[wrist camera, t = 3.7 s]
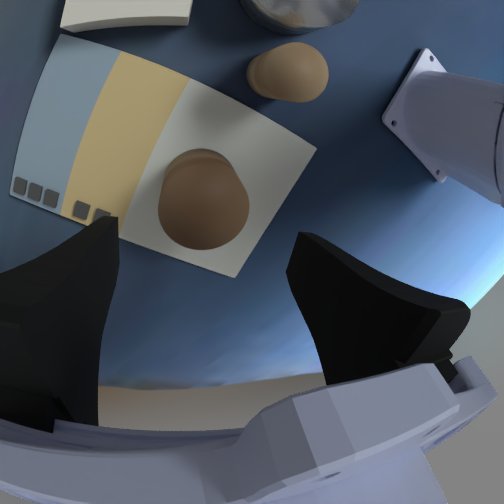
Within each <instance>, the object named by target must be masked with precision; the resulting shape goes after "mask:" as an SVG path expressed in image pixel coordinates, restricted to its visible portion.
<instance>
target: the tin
mask: <svg viewBox="0 0 504 504" xmlns="http://www.w3.org/2000/svg"><path fill="white" fill-rule="evenodd" d="M358 1H359V0H239V2H240V4H241V6H242V8H243V10H244V11H245V13H246V14H247V15H248V16H249V17H250V18H251V19H252V20H253V21H254V22H256V23H257V24H258V25H260V26H262V27H263V28H265V29H268V30H270V31H272V32H275V33H279V34H284V35H302V34H306V33H309V32H312V31H315V30H318V29H321V28H325V27H328V26H331V25H334V24H337V23H340V22H342V21H344V20H345V19H347V18H348V17H349V16H350V15H351V14H352V13H353V12H354V11H355V9H356V7H357V5H358Z"/></svg>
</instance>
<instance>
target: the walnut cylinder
mask: <svg viewBox="0 0 504 504" xmlns="http://www.w3.org/2000/svg"><path fill="white" fill-rule="evenodd" d="M249 207H250V206H249V198H248V194H247V191H246V189H245V188H244V186H243V184H242V182H241V180H240V179H239V177H238V175H237V174H236V172H235V170H234V168H233V167H232V165H231V163H230V162H229V161H228V160H227V159H226V158H225V157H224V156H223V155H222V154H220V153H218V152H216V151H213V150H210V149H204V148H198V149H192V150H188V151H186V152H184V153H182V154H180V155H179V156H177V157H176V158H175V159H174V160H173V161H172V162H171V163H170V165H169V166H168V168H167V170H166V172H165V175H164V179H163V184H162V188H161V193H160V198H159V203H158V217H159V221H160V224H161V226H162V228H163V230H164V232H165V233H166V234H167V235H168V236H169V237H170V238H171V239H172V240H173V241H174V242H176V243H177V244H179V245H181V246H183V247H186V248H189V249H194V250H210V249H214V248H218V247H220V246H223V245H225V244H227V243H228V242H230V241H231V240H233V239H234V238H235V237H236V236H237V235H238V234H239V233H240V232H241V230H242V229H243V227H244V225H245V224H246V221H247V219H248V215H249Z"/></svg>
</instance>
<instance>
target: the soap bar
mask: <svg viewBox="0 0 504 504" xmlns="http://www.w3.org/2000/svg"><path fill="white" fill-rule="evenodd" d="M192 3H193V0H66V3H65V7H64V11H63V15H62V20H61V25H60V27H61V28H63V29H66V30H68V31H71V32H73V33H76V32H82V31H88V30H95V29H103V28H113V27H125V26H144V25H180V26H188V23H189V18H190V13H191V8H192Z"/></svg>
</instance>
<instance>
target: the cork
mask: <svg viewBox="0 0 504 504" xmlns="http://www.w3.org/2000/svg"><path fill="white" fill-rule="evenodd" d="M328 76H329V74H328V67H327V64H326V61H325V59H324V58H323V56H322V55H321V54H320V53H319V52H318V51H317V50H316V49H315V48H313V47H311V46H309V45H307V44H304V43H298V42H293V43H287V44H284V45H281V46H279V47H276V48H274V49H271V50H269V51H266V52H264V53H262V54H259V55H257V56H256V57H254V58H253V59H252V60H251V62H250V63H249V65H248V67H247V71H246V78H247V82H248V84H249V86H250V87H251V89H252V90H253V91H254V92H255V93H257V94H258V95H260V96H262V97H266V98H272V99H278V100H285V101H290V102H297V103H303V102H308V101H311V100H313V99H315V98H317V97H318V96H319V95H320V94H321V93H322V92H323V91H324V89H325V87H326V85H327V82H328Z"/></svg>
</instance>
